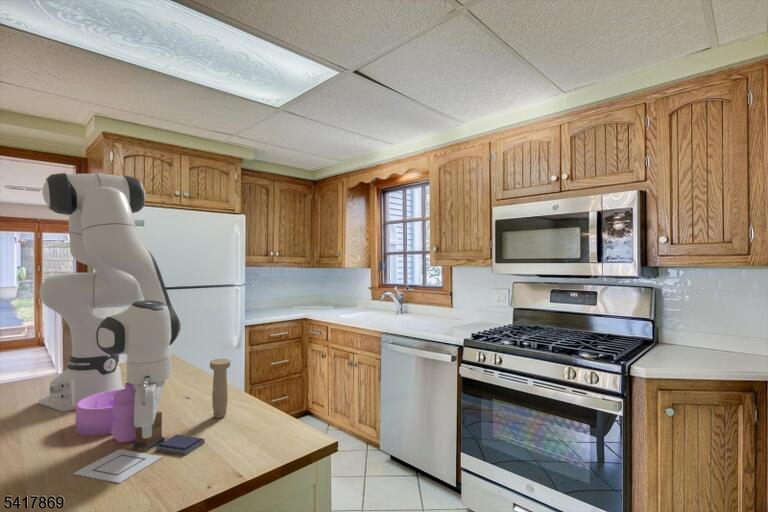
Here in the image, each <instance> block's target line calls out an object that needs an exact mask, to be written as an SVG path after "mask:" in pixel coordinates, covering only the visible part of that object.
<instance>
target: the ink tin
mask: <svg viewBox="0 0 768 512" xmlns="http://www.w3.org/2000/svg"><path fill="white" fill-rule="evenodd" d="M205 444H206V443H205V438H202V437H197V436H196V437H195V436H189V435H183V434H175V435H173V436H171V437H170V438H168V439H165V441H164V442H162V443H160V444H159V445H157V446H155V451H156V452H161V453H165V454H166V453H168V454H173V455H179V456H184V457H185V456H187V455H188V454H189V453H191V452H193V451H194V450H196V449H198V448H199V447H201V446H202V445H205Z"/></svg>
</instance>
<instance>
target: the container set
mask: <svg viewBox="0 0 768 512" xmlns="http://www.w3.org/2000/svg"><path fill="white" fill-rule="evenodd" d="M124 388H125V389H118V390H112V391H106V392H102V393H98V394H94V395H91V396H88V397H86V398H83V399H82V400H80V401H78V402H77V403H76V409H75V432H76V434H79V435H83V436H99V435H100V434H102V435H107V434H110V435H111V436H112V437H113V439H114V440H116V441H117V442H118V441H119V442H118V443H128V442H129V441H130V442H133V440H134V441H136V427H135V426H134V401H135V393H136V389H134V388H133V384H130V383H127V382H126V383H125V384H124ZM144 405H145V404H144Z"/></svg>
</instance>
